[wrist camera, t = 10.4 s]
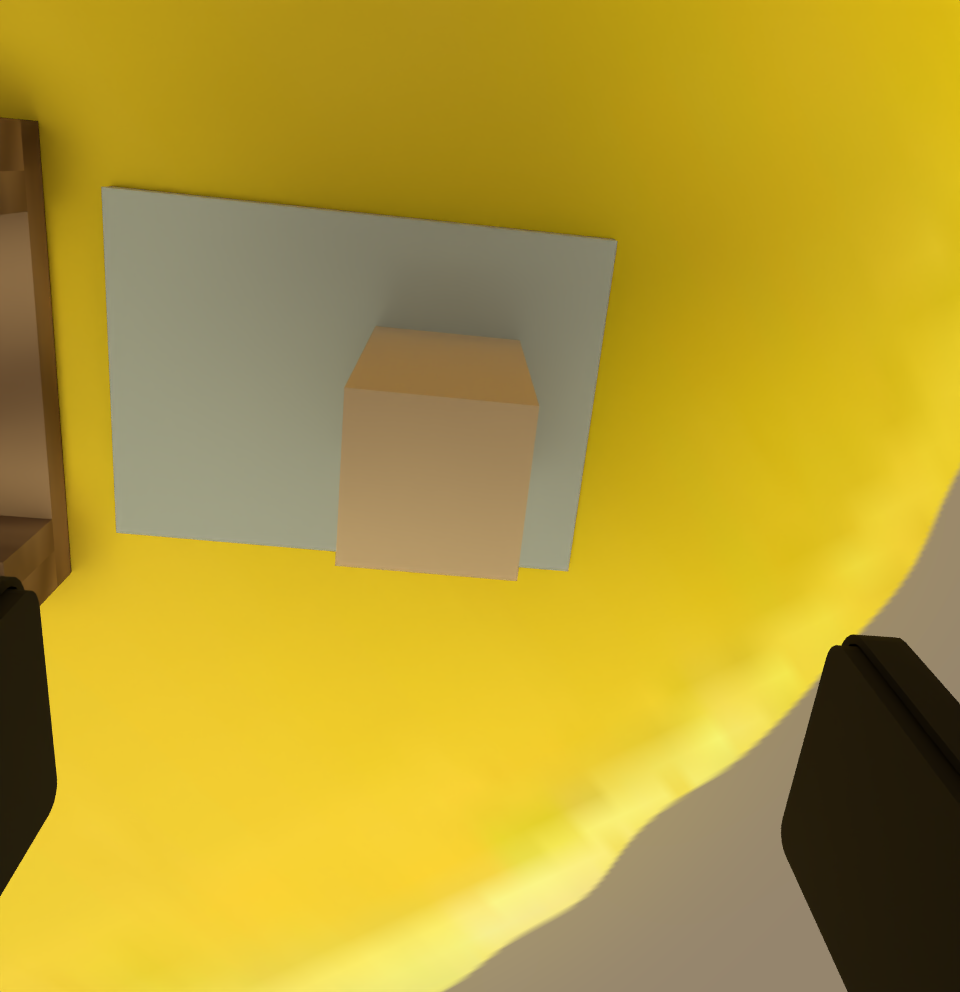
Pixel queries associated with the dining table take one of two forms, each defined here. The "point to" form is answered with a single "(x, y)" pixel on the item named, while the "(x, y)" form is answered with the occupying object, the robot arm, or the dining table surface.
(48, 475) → the walnut box
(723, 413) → the dining table surface
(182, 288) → the cover plate
